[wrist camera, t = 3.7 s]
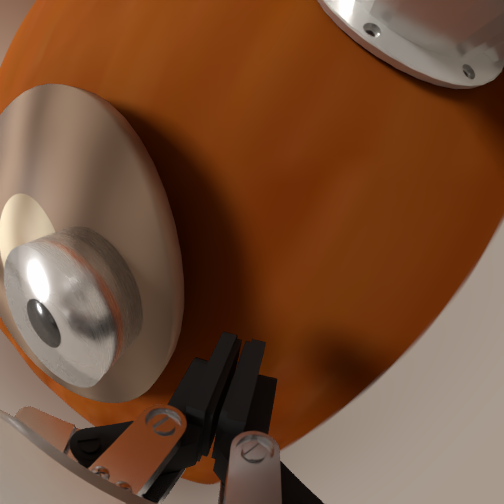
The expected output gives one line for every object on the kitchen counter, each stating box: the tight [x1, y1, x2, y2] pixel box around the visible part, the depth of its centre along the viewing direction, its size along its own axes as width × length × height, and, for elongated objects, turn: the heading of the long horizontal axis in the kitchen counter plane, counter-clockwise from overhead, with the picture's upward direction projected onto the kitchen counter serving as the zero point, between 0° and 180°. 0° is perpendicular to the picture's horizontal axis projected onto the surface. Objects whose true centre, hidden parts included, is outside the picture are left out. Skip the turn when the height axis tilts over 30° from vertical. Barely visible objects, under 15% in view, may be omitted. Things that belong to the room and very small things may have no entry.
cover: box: [4, 226, 143, 388], centre depth 11 cm, size 7×7×4 cm
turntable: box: [0, 84, 184, 403], centre depth 11 cm, size 22×22×6 cm
